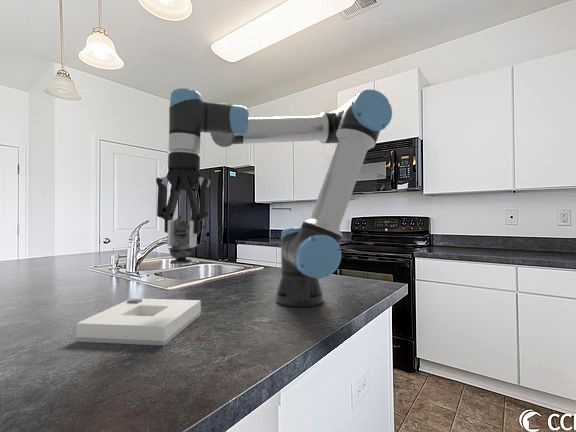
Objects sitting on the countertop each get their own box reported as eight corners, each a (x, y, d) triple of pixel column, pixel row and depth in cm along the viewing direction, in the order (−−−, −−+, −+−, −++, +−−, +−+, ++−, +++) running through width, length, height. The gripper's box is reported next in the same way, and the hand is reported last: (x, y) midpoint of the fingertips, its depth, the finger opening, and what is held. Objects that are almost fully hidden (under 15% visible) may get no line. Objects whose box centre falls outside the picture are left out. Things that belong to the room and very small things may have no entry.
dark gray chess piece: (185, 264, 75) (184, 214, 75) (163, 264, 76) (162, 214, 76) (197, 260, 81) (196, 214, 81) (177, 260, 82) (175, 214, 82)
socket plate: (200, 314, 85) (200, 298, 85) (164, 345, 66) (164, 323, 66) (131, 312, 88) (131, 296, 87) (76, 341, 68) (76, 320, 68)
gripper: (223, 156, 81) (221, 246, 81) (158, 156, 83) (155, 243, 83) (214, 150, 74) (211, 249, 74) (142, 150, 75) (139, 246, 75)
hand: (182, 246), depth 78 cm, fingers closed on dark gray chess piece, 5 cm apart
